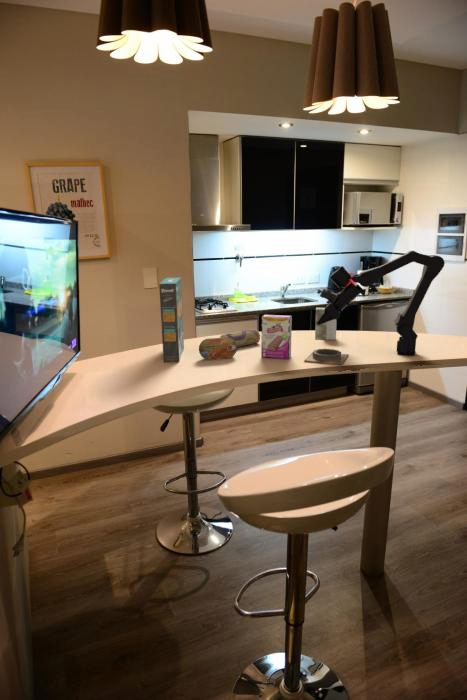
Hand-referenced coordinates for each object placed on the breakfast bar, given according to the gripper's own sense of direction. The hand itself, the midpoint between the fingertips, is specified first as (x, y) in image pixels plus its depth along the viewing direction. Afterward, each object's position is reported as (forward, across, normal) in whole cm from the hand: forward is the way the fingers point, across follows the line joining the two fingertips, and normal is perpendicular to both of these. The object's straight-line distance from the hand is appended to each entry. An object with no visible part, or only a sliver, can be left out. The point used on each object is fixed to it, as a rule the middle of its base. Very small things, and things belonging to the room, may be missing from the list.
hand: (317, 322), depth 187 cm
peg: (+4, 0, +6) cm, 7 cm away
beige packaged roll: (+34, -1, -17) cm, 38 cm away
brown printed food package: (+35, +19, -18) cm, 43 cm away
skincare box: (+5, -22, +11) cm, 25 cm away
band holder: (+5, +13, +11) cm, 18 cm away
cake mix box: (+48, +16, -32) cm, 60 cm away
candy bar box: (+19, +13, -2) cm, 23 cm away
